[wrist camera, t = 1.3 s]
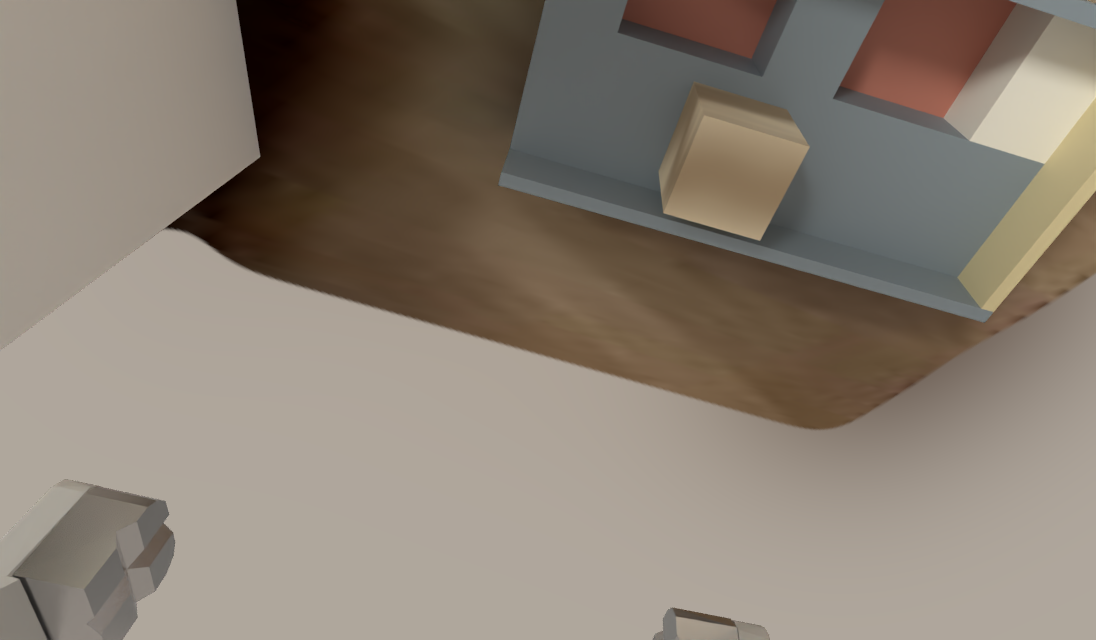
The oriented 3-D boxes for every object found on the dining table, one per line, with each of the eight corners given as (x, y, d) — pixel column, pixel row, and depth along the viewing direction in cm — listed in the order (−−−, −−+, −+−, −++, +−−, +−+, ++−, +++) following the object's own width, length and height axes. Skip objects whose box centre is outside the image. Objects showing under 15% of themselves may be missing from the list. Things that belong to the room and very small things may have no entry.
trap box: (588, -165, 25) (581, -166, 20) (1117, 10, 26) (1217, 45, 22) (515, 136, 32) (498, 185, 27) (936, 258, 33) (984, 322, 29)
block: (693, 81, 26) (704, 114, 23) (787, 109, 27) (809, 147, 24) (658, 171, 29) (663, 213, 26) (744, 196, 29) (760, 240, 26)
